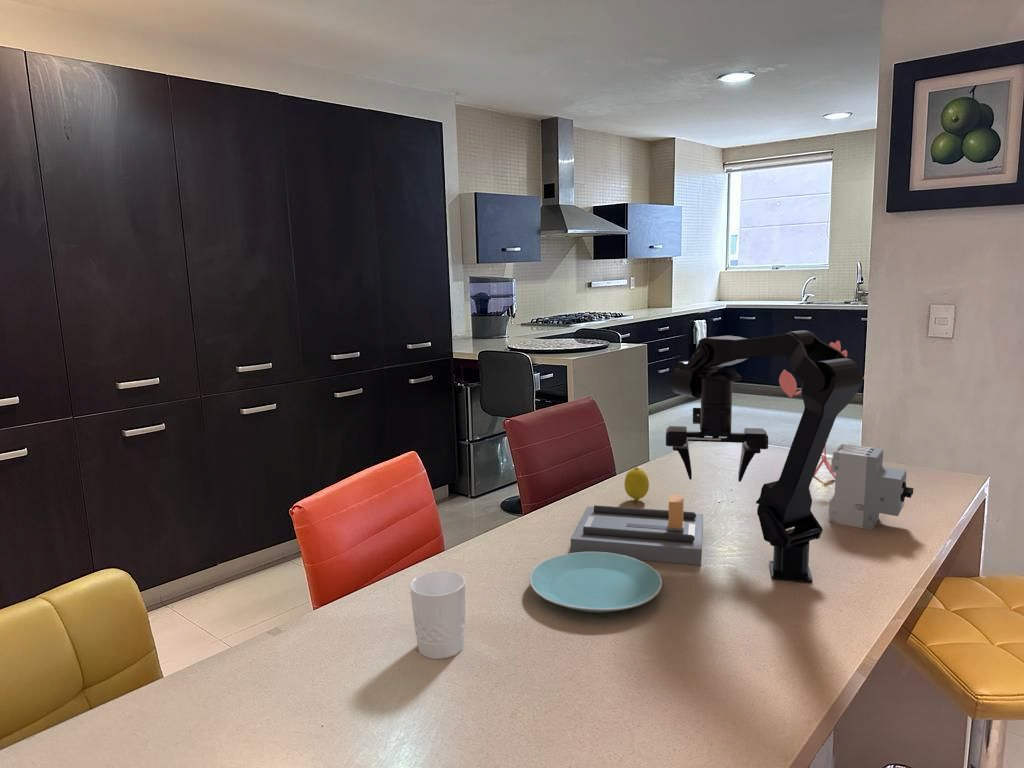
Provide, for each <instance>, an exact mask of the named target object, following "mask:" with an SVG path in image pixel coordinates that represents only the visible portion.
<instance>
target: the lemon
mask: <svg viewBox="0 0 1024 768" xmlns="http://www.w3.org/2000/svg"><path fill="white" fill-rule="evenodd" d="M649 488H650V482H649V477H648V475H647V472H645V471H644V470H643V469H640V468H639V467H634V468H633V469H631V470H629V471H628V472H627V473H626V475H625V478H624V491H625V492H626V495H628V496H629V497H630V498H631V499H633V500H634V501H636V502H637V501H640V500H641V499H642V498H645V496H646V495H647V494H648V492H649V490H650V489H649Z"/></svg>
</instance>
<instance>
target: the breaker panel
mask: <svg viewBox="0 0 1024 768" xmlns="http://www.w3.org/2000/svg"><path fill="white" fill-rule="evenodd" d="M695 514H696V518H695V519H683V521H684V531H677V530H668V521H669V517H655V516H641V515H627V514H614V513H600V512H594V506H586V508H585V510H584V512H583V514H582V516H581V518H580V519H579V521H578V523H577V525H576V527H575V529H574V532H573V534H572V536H571V537H570V553H577V552H607V553H614V554H620V555H624V556H628V557H632V558H635V559H637V560H640V561H647V562H648V561H651V562H660V563H661V562H662V563H674V564H684V565H697V566H702V561H703V560H702V556H703V555H702V553H703V533H704V513H703V514H700V513H695ZM584 526H585V527H598V528H611V529H623V530H636V531H649V532H662V533H675V534H687V535H693V536H694V538H695V540H694V541H693V542H678V541H666V540H654V539H641V538H629V537H617V536H604V535H592V534H583V527H584Z"/></svg>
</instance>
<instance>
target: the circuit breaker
mask: <svg viewBox="0 0 1024 768" xmlns="http://www.w3.org/2000/svg"><path fill="white" fill-rule="evenodd" d="M883 461H884V448H878V447H870V446H861V445H854V444H843V443H841V444H840V445H839V446H838V447H837V448H836V449H835V450H834V451H833V452H832V458H831V461H830V462H831V464H830V465H831V472H834V473H835V475H836V477H835V478H834V480H835V481H834V495H833V496H831V498H830V500H829V501H828V502H829V503H828V504H829V505H828V520H827V521H828V523H831V522H832V523H835V524H839V525H843V526H844V525H845V526H850V527H855V528H860V529H866V530H869V531H870V530H873V528H874V527H875V525H876V523H877V522H878V520H879V518H880V514H881V515H889V516H892V517H894V516H896V517H898V516H899V515H900V513H901V511H902V509H903V508H904V506H905V499H906V498H908V499H909V498H910V499H912V495H913V494H914V488H913V487H908V486H907V469H904V468H902V469H901V468H895V467H888V466H883V464H884V463H883Z"/></svg>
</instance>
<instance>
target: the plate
mask: <svg viewBox="0 0 1024 768" xmlns="http://www.w3.org/2000/svg"><path fill="white" fill-rule="evenodd" d="M529 585H530V586H531V588H532V590H533V591H534V592H535V594H537V595H538V596H539V597H540V598H542V599H544V600H546V601H547V602H550V603H551V604H554V605H556V606H557V605H558V606H559V607H560V606H561V607H563V608H568V609H571V610H574V611H578V612H583V613H591V614H592V613H593V614H594V613H595V614H602V613H604V614H605V613H614V612H619V611H623V610H629V609H633V608H636V607H637V608H638V607H639V606H642V605H644V604H646V603H648V602H650V601H651V600H653V599H654V598H655V597H657V595H659V593H660V592H661V589H662V586H663V579H662V576H661V575H660V573H659V572H658V571H657V570H656V569H655V568H654V567H652V566H651V565H650V564H648V563H646V562H644V561H643V560H637V559H635V558H632V557H628V556H624V555H620V554H614V553H607V552H577V553H571V552H570V553H565V554H560V555H557V556H553V557H550V558H547V559H545V560H543V561H541V562H540V563H538V564H537V565H536V566H534V568H533V569H532V570H531V572H530V574H529Z"/></svg>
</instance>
